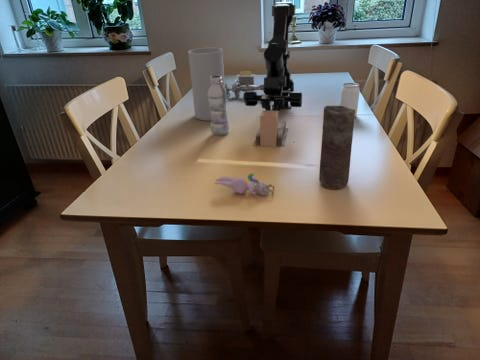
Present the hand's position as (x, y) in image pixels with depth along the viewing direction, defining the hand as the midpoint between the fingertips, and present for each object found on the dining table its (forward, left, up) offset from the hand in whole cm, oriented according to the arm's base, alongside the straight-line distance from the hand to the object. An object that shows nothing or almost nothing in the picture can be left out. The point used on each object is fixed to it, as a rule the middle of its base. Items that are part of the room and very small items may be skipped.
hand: (270, 122), depth 112 cm
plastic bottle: (-13, -14, -7) cm, 20 cm away
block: (+2, -1, -6) cm, 6 cm away
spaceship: (-54, +7, -7) cm, 55 cm away
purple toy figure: (+27, -18, -7) cm, 33 cm away
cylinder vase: (-34, -12, -7) cm, 37 cm away
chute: (-2, +1, -7) cm, 7 cm away
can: (-11, +36, -7) cm, 39 cm away
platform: (-76, +19, -7) cm, 79 cm away
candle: (+31, +4, -7) cm, 32 cm away
